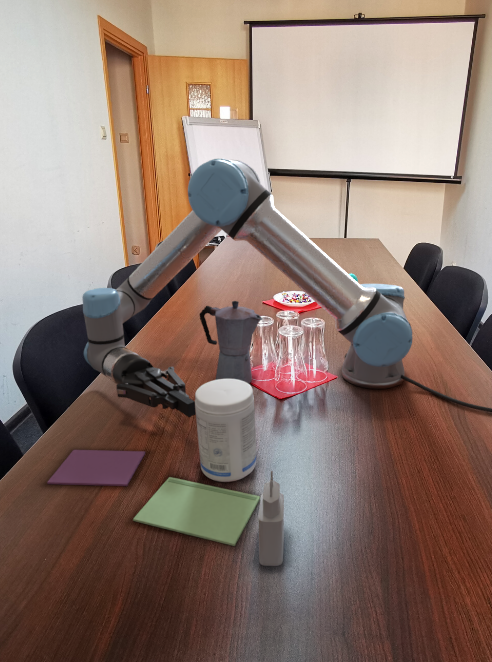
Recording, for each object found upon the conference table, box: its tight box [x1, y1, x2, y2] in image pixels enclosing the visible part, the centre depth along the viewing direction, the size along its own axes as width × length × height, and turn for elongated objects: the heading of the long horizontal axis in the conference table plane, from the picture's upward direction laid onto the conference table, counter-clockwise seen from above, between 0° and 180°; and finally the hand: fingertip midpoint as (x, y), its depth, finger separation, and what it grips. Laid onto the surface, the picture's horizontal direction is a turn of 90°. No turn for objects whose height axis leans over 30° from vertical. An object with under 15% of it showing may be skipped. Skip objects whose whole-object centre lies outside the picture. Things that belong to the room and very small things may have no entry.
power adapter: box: [257, 470, 285, 567], centre depth 60 cm, size 3×5×12 cm, turn 179°
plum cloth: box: [46, 449, 146, 487], centre depth 78 cm, size 13×9×1 cm
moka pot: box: [199, 300, 263, 385], centre depth 107 cm, size 10×15×20 cm, turn 78°
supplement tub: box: [194, 379, 257, 483], centre depth 77 cm, size 10×10×15 cm
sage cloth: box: [132, 476, 261, 547], centre depth 69 cm, size 16×10×1 cm, turn 74°
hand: (191, 409), depth 83 cm, fingers closed
